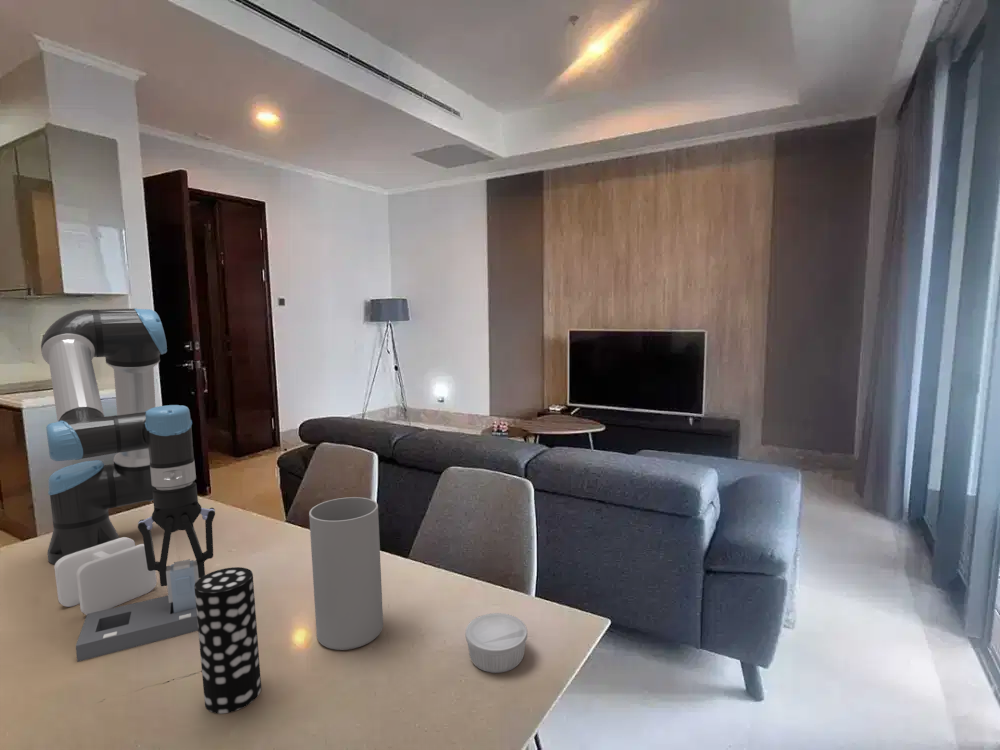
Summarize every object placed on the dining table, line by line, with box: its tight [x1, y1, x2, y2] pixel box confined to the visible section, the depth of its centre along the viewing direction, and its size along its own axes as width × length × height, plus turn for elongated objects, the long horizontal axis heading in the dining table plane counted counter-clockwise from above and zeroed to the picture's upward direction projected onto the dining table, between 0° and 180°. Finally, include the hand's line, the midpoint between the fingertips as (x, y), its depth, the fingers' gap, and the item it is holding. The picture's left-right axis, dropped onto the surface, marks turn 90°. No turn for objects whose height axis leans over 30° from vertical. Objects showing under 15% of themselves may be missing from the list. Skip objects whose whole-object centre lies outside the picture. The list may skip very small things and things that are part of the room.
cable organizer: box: [53, 536, 158, 616], centre depth 119 cm, size 15×11×12 cm
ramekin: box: [464, 612, 529, 674], centre depth 98 cm, size 11×11×5 cm
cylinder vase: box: [308, 496, 384, 651], centre depth 105 cm, size 12×12×25 cm
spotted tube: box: [194, 566, 262, 714], centre depth 89 cm, size 8×8×20 cm
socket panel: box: [75, 595, 198, 663], centre depth 109 cm, size 12×22×4 cm, turn 119°
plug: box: [170, 558, 196, 613], centre depth 110 cm, size 5×4×11 cm
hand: (184, 595), depth 111 cm, fingers closed on plug, 4 cm apart
